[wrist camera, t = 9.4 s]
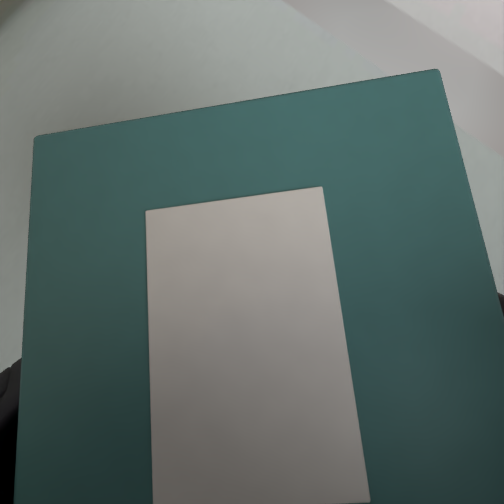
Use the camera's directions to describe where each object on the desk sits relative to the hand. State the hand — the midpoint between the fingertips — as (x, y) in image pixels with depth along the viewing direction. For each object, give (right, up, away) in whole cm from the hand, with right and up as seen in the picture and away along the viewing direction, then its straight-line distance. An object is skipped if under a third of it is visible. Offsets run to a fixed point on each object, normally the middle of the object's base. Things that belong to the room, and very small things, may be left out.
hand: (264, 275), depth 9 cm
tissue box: (+1, -3, +6) cm, 7 cm away
